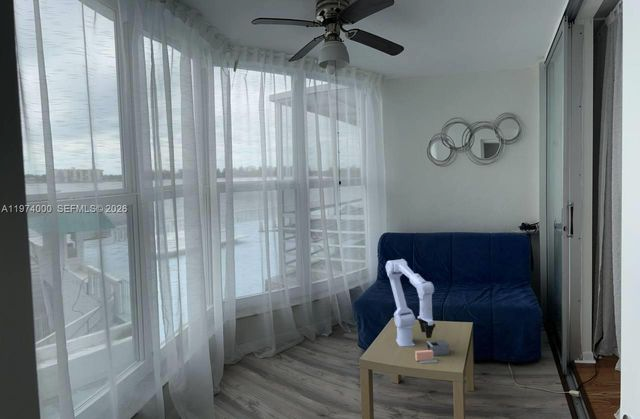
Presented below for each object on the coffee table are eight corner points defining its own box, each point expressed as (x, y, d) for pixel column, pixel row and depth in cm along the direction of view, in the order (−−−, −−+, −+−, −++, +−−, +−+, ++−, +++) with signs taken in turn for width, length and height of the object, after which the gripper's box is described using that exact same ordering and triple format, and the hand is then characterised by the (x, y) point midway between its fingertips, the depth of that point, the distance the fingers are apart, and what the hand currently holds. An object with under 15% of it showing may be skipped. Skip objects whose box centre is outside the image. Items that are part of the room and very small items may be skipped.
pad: (416, 357, 205) (416, 356, 205) (432, 356, 206) (432, 355, 206) (421, 363, 198) (421, 362, 198) (437, 362, 199) (437, 361, 199)
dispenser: (427, 351, 212) (426, 341, 212) (444, 349, 213) (444, 339, 213) (431, 355, 206) (431, 345, 206) (449, 354, 207) (449, 344, 207)
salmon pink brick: (415, 359, 202) (415, 351, 202) (431, 358, 203) (431, 349, 203) (416, 360, 200) (416, 352, 200) (433, 359, 201) (433, 351, 201)
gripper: (413, 303, 213) (413, 330, 214) (422, 312, 198) (422, 340, 199) (427, 302, 213) (427, 329, 214) (437, 311, 199) (437, 340, 200)
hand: (426, 334), depth 207 cm, fingers open, 7 cm apart
